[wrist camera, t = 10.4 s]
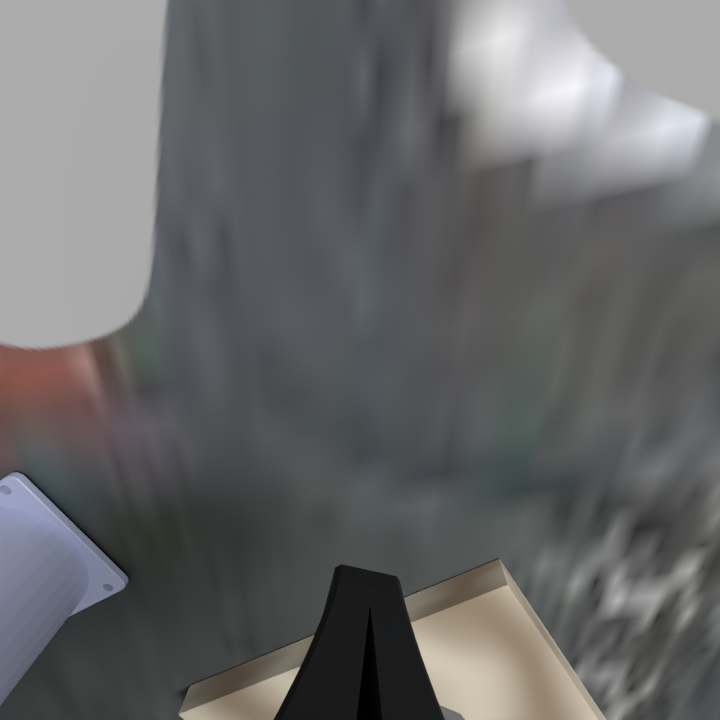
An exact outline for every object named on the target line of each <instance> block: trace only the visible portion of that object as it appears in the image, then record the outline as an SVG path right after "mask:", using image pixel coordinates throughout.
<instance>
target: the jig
mask: <svg viewBox="0 0 720 720" xmlns="http://www.w3.org/2000/svg"><path fill="white" fill-rule="evenodd" d="M404 600H405V604H406V608H407V611H408V615H409V618H410V622H411V625H412V628H413V631H414V634H415V638H416V641H417V644H418V647H419V650H420V653H421V656H422V659H423V662H424V665H425V667H426V670H427V673H428V676H429V678H430V681H431V684H432V687H433V689H434V692H435V695H436V698H437V700H438V703H439V705H440V708H441V711H442V713H443V716H444V718H445V720H606V719H605V717H604V716H603V714H602V712H601V711H600V709H599V708H598V706H597V705H596V703H595V702H594V700H593V699H592V697H591V696H590V694H589V693H588V691H587V690H586V688H585V687H584V685H583V684H582V682H581V681H580V679H579V678H578V676H577V675H576V673H575V672H574V670H573V669H572V667H571V666H570V664H569V663H568V661H567V660H566V658H565V657H564V655H563V654H562V652H561V651H560V649H559V648H558V646H557V645H556V643H555V642H554V640H553V639H552V637H551V636H550V634H549V633H548V631H547V630H546V628H545V627H544V625H543V624H542V622H541V621H540V619H539V618H538V616H537V615H536V613H535V612H534V610H533V609H532V607H531V606H530V604H529V603H528V601H527V600H526V598H525V597H524V595H523V594H522V592H521V591H520V589H519V587H518V586H517V584H516V583H515V581H514V580H513V578H512V577H511V575H510V574H509V572H508V571H507V569H506V568H505V566H504V565H503V563H502V562H501V560H500V559H497V560H495V561H492V562H490V563H487V564H485V565H483V566H480V567H478V568H475V569H473V570H470V571H468V572H466V573H463V574H461V575H458V576H456V577H453V578H451V579H449V580H446V581H444V582H441V583H439V584H436V585H434V586H432V587H429V588H427V589H424V590H422V591H419V592H417V593H415V594H412V595H410V596H407V597H405V598H404ZM313 637H314V635H312V636H310V637H307V638H305V639H303V640H300V641H298V642H295V643H293V644H290V645H288V646H286V647H283V648H281V649H278V650H276V651H273V652H271V653H269V654H266V655H264V656H261V657H259V658H256V659H254V660H252V661H249V662H247V663H244V664H242V665H239V666H237V667H235V668H232V669H230V670H227V671H225V672H222V673H220V674H218V675H215V676H213V677H210V678H208V679H205V680H203V681H200V682H198V683H196V684H193V685H191V686H190V687H189V689H188V692H187V694H186V697H185V699H184V702H183V704H182V707H181V709H180V711H179V714H178V715H180V716H181V717H182V718H183V719H184V720H274V718H275V716H276V714H277V712H278V710H279V708H280V706H281V704H282V703H283V701H284V699H285V697H286V695H287V693H288V691H289V689H290V687H291V685H292V683H293V681H294V679H295V677H296V675H297V673H298V671H299V669H300V667H301V665H302V662H303V660H304V658H305V656H306V654H307V651H308V649H309V647H310V644H311V642H312V640H313Z"/></svg>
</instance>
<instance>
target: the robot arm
mask: <svg viewBox="0 0 720 720" xmlns="http://www.w3.org/2000/svg"><path fill="white" fill-rule="evenodd" d="M127 583H128V577H127V576H126V574H125V573H124V572H123V571H122V570H121V569H119V568H118V567H117V566H116V565H115V564H114V563H113V562H112V561H111V560H110V559H109V558H108V557H107V556H106V555H105V554H104V553H103V552H102V551H101V550H100V549H99V548H98V547H97V546H96V545H95V544H94V543H93V542H92V541H91V540H90V539H89V538H88V537H87V536H86V535H85V534H84V533H83V532H82V531H81V530H80V529H79V528H78V527H77V526H76V525H75V524H74V523H73V522H72V521H70V520H69V519H68V518H67V517H66V516H65V515H64V514H63V513H62V512H61V511H60V510H59V509H58V508H57V507H56V506H55V505H54V504H53V503H52V502H51V501H50V500H49V499H48V498H47V497H46V496H45V495H44V494H43V493H42V492H41V491H40V490H39V489H38V488H37V487H36V486H35V485H34V484H33V483H32V482H31V481H30V480H29V479H28V478H27V477H26V476H24V475H23V474H21V473H18V472H13V473H11V474H9V475H7V476H6V477H4V478H3V479H1V480H0V705H1V704H2V703H3V701H4V700H5V699H6V698H7V696H8V695H9V694H10V692H11V691H12V690H13V688H14V687H15V686H16V685H17V683H18V682H19V681H20V679H21V678H22V677H23V675H24V674H25V673H26V672H27V670H28V669H29V668H30V666H31V665H32V664H33V662H34V661H35V660H36V659H37V657H38V656H39V655H40V653H41V652H42V651H43V649H44V648H45V647H46V646H47V644H48V643H49V642H50V640H51V639H52V638H53V636H54V635H55V634H56V632H57V631H58V630H59V629H60V627H61V626H62V625H63V623H64V622H65V621H66V619H67V618H68V617H70V616H71V615H73V614H75V613H77V612H79V611H81V610H83V609H85V608H87V607H89V606H91V605H93V604H95V603H97V602H99V601H101V600H103V599H105V598H107V597H109V596H111V595H113V594H115V593H117V592H119V591H121V590H123V589H124V588H125V586H126V585H127ZM274 720H445V718H444V716H443V713H442V711H441V708H440V705H439V703H438V700H437V698H436V695H435V692H434V689H433V687H432V684H431V681H430V678H429V676H428V673H427V670H426V667H425V665H424V662H423V659H422V656H421V653H420V650H419V647H418V644H417V641H416V638H415V634H414V631H413V628H412V625H411V622H410V618H409V615H408V611H407V608H406V604H405V600H404V597H403V593H402V589H401V585H400V581H399V580H398V578H397V577H396V576H392V575H388V574H383V573H379V572H374V571H369V570H365V569H360V568H356V567H351V566H346V565H339V566H337V567H335V571H334V575H333V579H332V582H331V586H330V590H329V594H328V598H327V601H326V605H325V609H324V613H323V615H322V618H321V621H320V623H319V626H318V628H317V631H316V633H315V635H314V637H313V640H312V642H311V644H310V647H309V649H308V651H307V654H306V656H305V658H304V660H303V662H302V665H301V667H300V669H299V671H298V673H297V675H296V677H295V679H294V681H293V683H292V685H291V687H290V689H289V691H288V693H287V695H286V697H285V699H284V701H283V703H282V704H281V706H280V708H279V710H278V712H277V714H276V716H275V718H274Z"/></svg>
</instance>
